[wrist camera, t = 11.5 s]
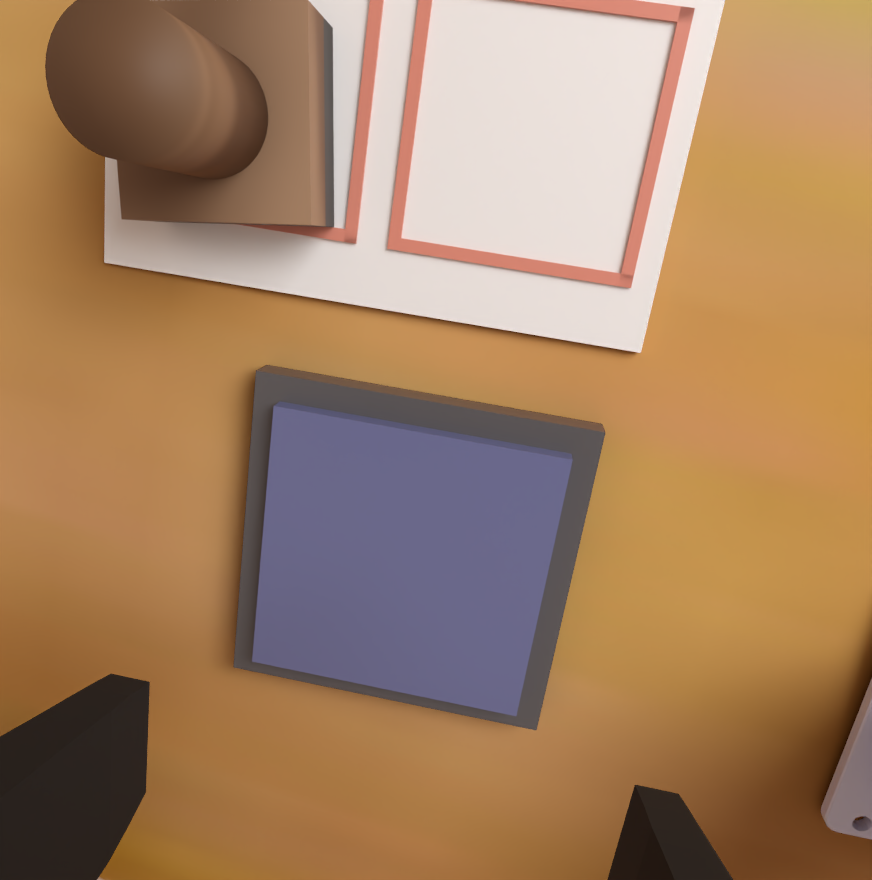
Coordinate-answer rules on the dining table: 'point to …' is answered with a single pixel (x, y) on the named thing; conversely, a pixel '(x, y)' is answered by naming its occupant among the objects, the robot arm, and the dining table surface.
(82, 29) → the stamp
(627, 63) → the sheet
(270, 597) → the ink pad
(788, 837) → the dining table surface
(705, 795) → the dining table surface
